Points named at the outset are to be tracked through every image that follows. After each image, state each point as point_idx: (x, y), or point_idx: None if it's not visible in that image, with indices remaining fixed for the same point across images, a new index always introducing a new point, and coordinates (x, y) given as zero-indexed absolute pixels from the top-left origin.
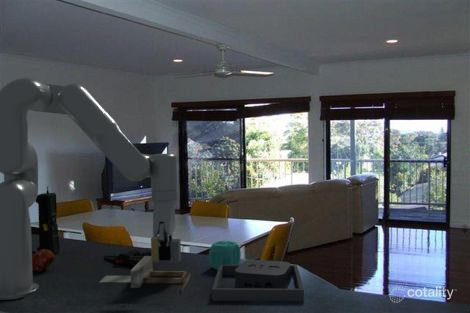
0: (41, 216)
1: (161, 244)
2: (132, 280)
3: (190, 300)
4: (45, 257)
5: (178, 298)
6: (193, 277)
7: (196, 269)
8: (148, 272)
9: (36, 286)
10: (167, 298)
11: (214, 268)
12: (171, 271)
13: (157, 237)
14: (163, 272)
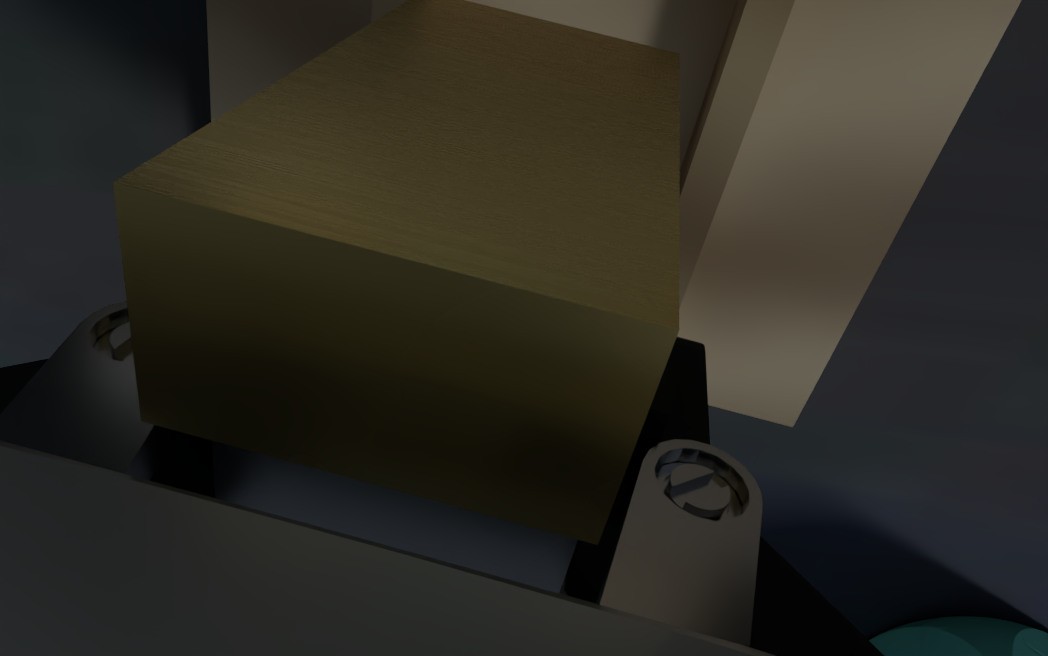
0: None
1: (5, 398)
2: None
3: (62, 297)
4: None
5: (93, 211)
6: (722, 415)
7: (1027, 488)
8: None
9: None
10: (76, 111)
11: (935, 620)
12: (681, 247)
13: (320, 430)
14: (700, 136)
